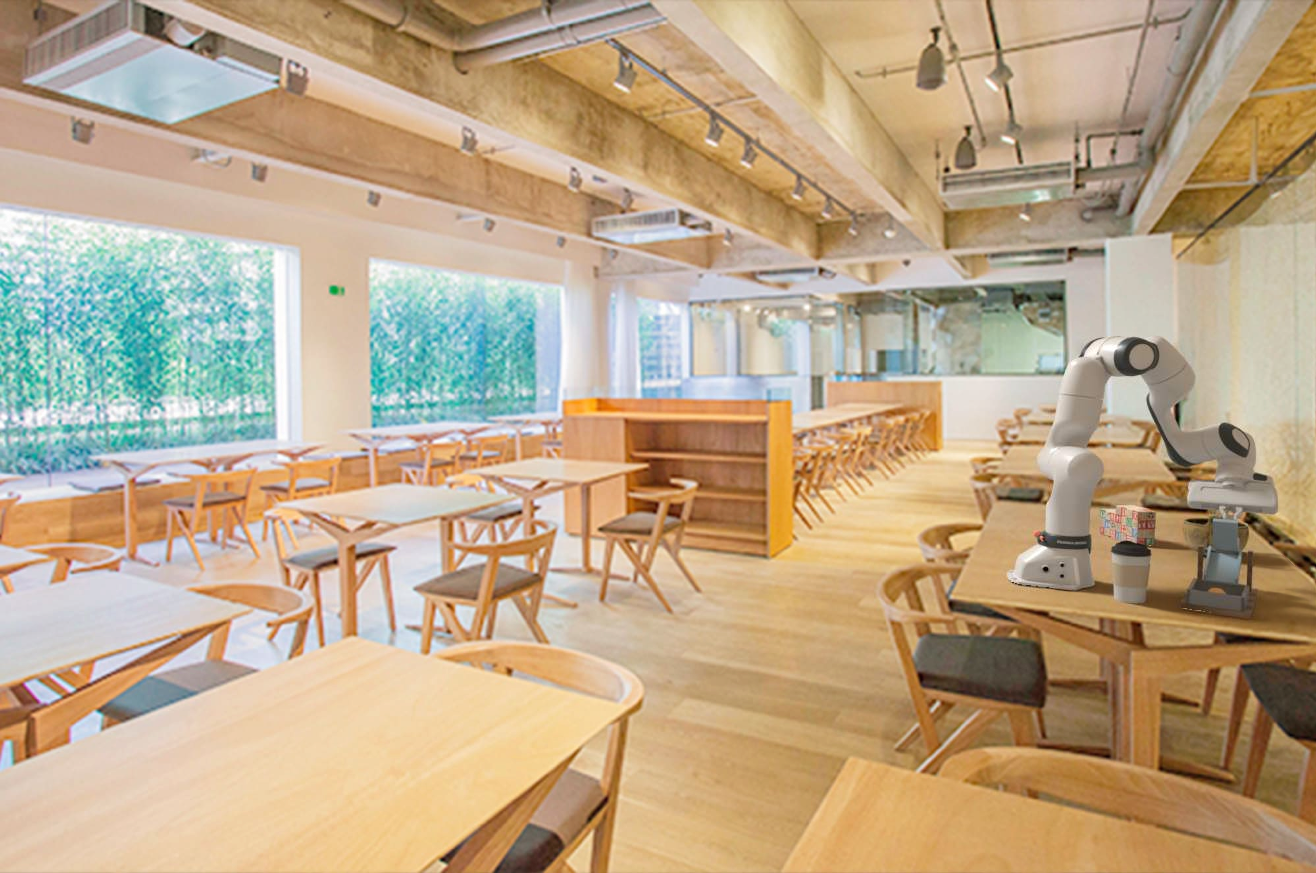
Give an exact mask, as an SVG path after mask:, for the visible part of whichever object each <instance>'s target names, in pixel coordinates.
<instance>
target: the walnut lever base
mask: <svg viewBox="0 0 1316 873" xmlns="http://www.w3.org/2000/svg"><path fill="white" fill-rule="evenodd" d="M1204 557H1205V556H1204V545H1199V546H1198V552H1197V570H1196V571H1197V574H1196V577H1197V579H1203V573H1204ZM1253 565H1254V550H1250V549H1249V550H1248V551H1247V565H1246V566H1247V567H1246V568H1247V569H1246V585H1249V600H1248V603H1247V606H1246V610H1245V612H1240V611H1234V610H1227V609H1220V608H1214V607H1207V606H1200V605H1194V604H1187V603H1186V600H1187V592H1186V593H1185V594H1184V596H1183V598H1182V600H1181V601H1180V606H1179V609H1180V608H1187V609H1192V610H1201V611H1205V612H1211V613H1214V614H1213V615H1217V614H1220V615H1219V616H1225V617H1230V618H1237V619H1245V620H1252V617H1253V612H1254V610H1255V606H1256V603H1257V602H1256V601H1257V598H1258V592H1259V591H1258V590H1259V589H1258V588H1253V587H1252V586H1253V571H1254V570H1253ZM1211 613H1210V614H1211Z"/></svg>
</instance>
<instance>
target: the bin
mask: <svg viewBox="0 0 1316 873" xmlns="http://www.w3.org/2000/svg"><path fill="white" fill-rule="evenodd" d="M1211 588H1220V589H1222V590H1223V591H1224V592H1225V593H1226V594H1220V593H1212V592H1208V590H1210V589H1211ZM1186 593H1187V600H1186V603H1187V604H1194V605H1200V606H1207V607H1214V608H1220V609H1227V610H1234V611H1240V612H1245V610H1246V606H1247V603H1248V600H1249V585H1247V584H1243V583H1238V585H1230V584H1223V583H1215V582H1207V581H1203V579H1197V578H1196V577H1193V579H1192V581H1191V582H1190V583H1189V585H1188V586H1187V589H1186Z"/></svg>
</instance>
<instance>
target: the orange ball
mask: <svg viewBox="0 0 1316 873" xmlns="http://www.w3.org/2000/svg"><path fill="white" fill-rule="evenodd" d="M1208 592H1212V593H1220V594H1226V593H1225V592H1224V591H1223V590H1222V589H1220V588H1211V589H1210V590H1208Z"/></svg>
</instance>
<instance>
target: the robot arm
mask: <svg viewBox="0 0 1316 873" xmlns="http://www.w3.org/2000/svg"><path fill="white" fill-rule="evenodd" d="M1137 376H1140V377H1141V378H1142V379H1143V381H1144V382H1145V383H1146V385H1147V387H1148V389H1149V390H1148V391H1149V392H1148V393H1147V394H1146V398H1145V399H1146V400H1145V401H1146V405H1147V408H1148V411H1149V414H1150V416H1151V418H1152V420H1153V423H1154V425H1155V426H1156V428H1157V431H1158V432H1159V434H1160V436H1161V439H1162V440H1163V443H1164V446H1165V449H1166V452H1167V455H1168V457H1169V459H1170V460H1171V461H1172V462H1173V463H1175V465H1178V466H1180V467H1182V468H1183V467H1184V468H1189V467H1193V466H1196V465H1200V464H1202V463H1206V462H1212V461H1215V460H1216V461H1217V467H1216V468H1215V476H1214V479H1213V480H1212V479H1198V478H1197V479H1195V480H1191V481H1189V482H1188V485H1187V490H1188V493H1187V498H1186V502H1187V506H1188V507H1189V508H1191V509H1196V510H1197V509H1199V510H1210V511H1212V510H1219V513H1220V514H1221V515H1222V517H1223V519H1226V520H1237V521H1238V519H1239V518H1240V517H1241V516H1242V515H1243V513H1250V514H1265V515H1275V514H1276V513H1278V512H1279V496H1278V491H1277V488H1276V487H1275V482H1274V479H1273V477H1272V476H1271V475H1267V474H1263V473H1260V472H1256V471H1255V470H1254V467H1256V463H1257V449H1256V442H1255V439H1254V437H1253V436H1252V435H1251V434H1250V433H1248V432H1246V431H1243V430H1242V429H1241V428H1239V427H1237V426H1235V425H1234V424H1232V423H1229V422H1226V421H1225V422H1220V423H1215V424H1211V425H1207V426H1205V427H1200V428H1197V429H1194V430H1188V431H1187V430H1185V431H1184V430H1181V428H1180V427H1179V425H1178V422H1177V420H1176V418H1175V417H1174V414H1173V412H1172V408H1173V407H1174V406H1175V405H1176V404H1178V403H1180V402H1181V401H1182V400H1183V399H1185V398H1186V397H1187V396H1188V395H1189V394H1190V392H1192V390H1193V388H1194V386H1195V383H1196V375H1195V373H1194V370H1193V369H1192V367H1191V365H1190V364H1189V363H1188V361H1187V360H1186V358H1185V357H1184V356H1183V354H1181V352H1180V351H1179V350H1178V349H1177V348H1176V347H1175V346H1174V345H1173V344H1171V342H1169V341H1168V340H1167V339H1165V338H1164V337H1162V336H1160V335H1150V336H1146V337H1144V338H1142V337H1139V336H1138V337H1137V336H1131V337H1129V336H1120V335H1119V336H1118V335H1117V336H1116V335H1115V336H1107V337H1098V338H1095V339H1092V340H1090V341H1089V342H1087V343H1086V344H1085V345H1084V347H1083V348H1082V350H1081V351H1080V354H1079V356H1078V357H1076V358H1074V359H1072V360H1070V361H1069V363H1068V364H1067V366H1066V368H1065V371H1064V374H1063V377H1062V378H1061V379H1062V380H1061V383H1060V387H1059V391H1058V398H1057V403H1056V409H1055V413H1054V419H1053V422H1052V426H1051V429H1050V430H1049V434H1048V436H1047V438H1046V441H1045V443H1044V445H1043V446H1044V447H1043V448H1042V449H1041V450H1040V451H1039V453H1038V454H1037V457H1036V464H1037V467H1038V469H1039V470H1040V471H1041V473H1042V474H1043V475H1044V476H1045V477H1046V478H1048V479H1049V480H1051V481H1053V487H1052V490H1051V493H1050V497H1049V499H1048V501H1047V502H1046V505H1045V530H1044V531H1040V530H1038V529H1037V530H1034V532H1033V536H1034V537H1035V538H1036V542H1037V544H1035V545H1033V546H1031V547H1029V548H1028V549H1026V550H1025V551H1023V552H1022V553H1020V554H1019V555H1017V556H1018V557H1017V558H1016V561H1015V566H1014V569H1010V570H1008V571H1007V572H1006V578H1008V579H1009V580H1011V581H1010V582H1011V583H1012V582H1014V583H1013V584H1015V583H1017V584H1016V585H1018V584H1022V585H1021V586H1026V585H1031V586H1030V587H1036V586H1038V588H1046V587H1049V589H1058V590H1065V591H1067V590H1068V591H1079V590H1081V589H1085V588H1091V587H1093V586H1095V585H1096V582H1095V580H1094V577H1093V572H1092V571H1093V570H1092V565H1091V563H1092V562H1091V551H1092V544H1093V542H1092V535H1091V533H1090V530H1091V529H1090V526H1091V523H1090V522H1091V506H1092V501H1093V498H1094V494H1095V491H1096V489H1097V488H1096V487H1097V485H1098V483H1099V482H1100V481H1101V480H1102V478H1103V476H1104V472H1105V466H1104V462H1103V460H1102V459H1101V458H1100V457H1099V456H1098V455H1097V454H1096V453H1094V452H1093V451H1091V450H1090V449H1087V446H1088V444H1089V442H1090V440H1091V438H1092V436H1093V435H1094V433H1095V432H1096V430H1098V428H1099V426H1100V421H1101V415H1102V410H1103V409H1102V408H1103V403H1104V399H1105V398H1104V397H1105V392H1106V391H1105V390H1106V385H1107V383H1108V382H1109V380H1110V378H1111V377H1117V378H1118V377H1119V378H1120V377H1137ZM1227 512H1234V514H1228V513H1227ZM1008 579H1007V580H1008ZM1009 580H1008V581H1009Z"/></svg>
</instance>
